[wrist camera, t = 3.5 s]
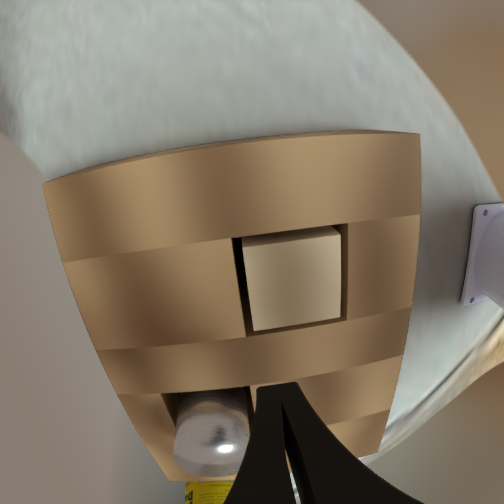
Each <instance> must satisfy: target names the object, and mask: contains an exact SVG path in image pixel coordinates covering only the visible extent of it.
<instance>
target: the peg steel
mask: <svg viewBox="0 0 504 504" xmlns="http://www.w3.org/2000/svg"><path fill="white" fill-rule="evenodd" d="M249 438H250V433H249V422H248V412H247V401H246V392H245V389H244V387H234V388H225V389H215V390H204V391H192V392H180V399H179V407H178V415H177V424H176V433H175V442H174V452H173V459H174V461H175V463H176V464H177V465H178V466H179V467H180V468H182V469H183V470H185V471H187V472H189V473H192V474H195V475H199V476H205V477H226V476H231V475H235V474H237V473H238V471H239V468H240V466H241V463H242V460H243V457H244V454H245V451H246V448H247V445H248V442H249Z"/></svg>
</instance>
